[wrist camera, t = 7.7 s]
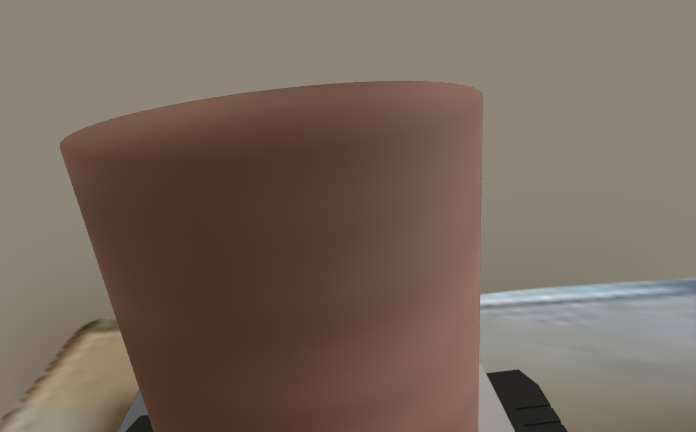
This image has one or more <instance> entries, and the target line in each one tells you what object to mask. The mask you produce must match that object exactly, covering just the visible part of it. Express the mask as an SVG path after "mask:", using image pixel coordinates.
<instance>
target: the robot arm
mask: <svg viewBox="0 0 696 432" xmlns="http://www.w3.org/2000/svg"><path fill="white" fill-rule="evenodd" d="M125 432H154V431H153V428H152V425H151V422H150V419H149V416H148V415H143V416H139V417H138V419H137V420H136V421H135V422H134V423H133V424H132V425H131V426H130V427H129V428H128V429H127V430H126V431H125ZM478 432H567V430H566V428H565V427H564V425H561V421H560V419H559V417H558V416H557V414H556V413H555V411H554V409H553V408H551V406H550V403H549V402H548V400H547V398H546V397H545V395H544V394H543V392H542V390H541V389H540V387H539V386H538V385H537V384H536V383H535V382H534V381H532V380H531V379H530V378H529V377H527V376H526V375H525V374H523V373H522V372H521V371H520V370H511V371H502V372H494V373H486V372H485V370H484V368H483V366H482V364H481V362H480V360H479V408H478Z"/></svg>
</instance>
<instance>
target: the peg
mask: <svg viewBox="0 0 696 432" xmlns="http://www.w3.org/2000/svg"><path fill="white" fill-rule="evenodd" d="M482 119H483V94H482V93H481V92H480V91H479V90H477V89H475V88H473V87H469V86H465V85H459V84H452V83H443V82H427V81H377V82H354V83H338V84H324V85H312V86H301V87H291V88H282V89H273V90H265V91H257V92H249V93H242V94H234V95H228V96H221V97H214V98H209V99H202V100H196V101H191V102H185V103H180V104H175V105H170V106H164V107H160V108H155V109H151V110H146V111H141V112H138V113H133V114H129V115H125V116H121V117H118V118H114V119H110V120H107V121H104V122H101V123H97V124H95V125H92V126H89V127H86V128H84V129H81V130H79V131H77V132H75V133H73V134H71V135H69V136H67V137H66V138H65V139H64V140H63V141H62V142H61V143H60V149H61V153H62V156H63V158H64V162H65V165H66V168H67V170H68V174H69V177H70V180H71V183H72V186H73V189H74V192H75V195H76V197H77V201H78V204H79V207H80V210H81V213H82V216H83V219H84V222H85V225H86V228H87V231H88V234H89V237H90V240H91V243H92V246H93V249H94V252H95V255H96V258H97V261H98V264H99V267H100V270H101V273H102V276H103V280H104V282H105V286H106V289H107V292H108V294H109V298H110V301H111V304H112V307H113V310H114V313H115V316H116V319H117V322H118V325H119V328H120V331H121V334H122V337H123V340H124V343H125V346H126V349H127V352H128V355H129V358H130V361H131V364H132V367H133V370H134V373H135V376H136V379H137V382H138V385H139V388H140V391H141V394H142V398H143V401H144V404H145V407H146V410H147V413H148V416H149V419H150V422H151V425H152V428H153V431H154V432H478V408H479V336H480V265H481V264H480V263H481V260H480V259H481V193H482V123H483V121H482Z"/></svg>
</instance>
